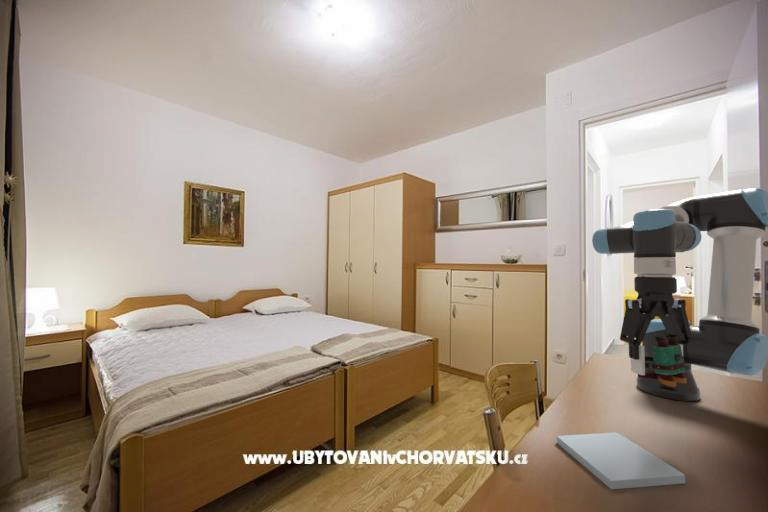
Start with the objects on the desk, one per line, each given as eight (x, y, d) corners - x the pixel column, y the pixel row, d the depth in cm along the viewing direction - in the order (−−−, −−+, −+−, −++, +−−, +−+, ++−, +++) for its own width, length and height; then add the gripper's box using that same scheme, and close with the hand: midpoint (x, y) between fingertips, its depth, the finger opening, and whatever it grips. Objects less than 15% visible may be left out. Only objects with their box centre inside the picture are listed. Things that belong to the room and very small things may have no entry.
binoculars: (639, 331, 80) (689, 334, 71) (644, 373, 79) (697, 383, 70) (618, 333, 76) (668, 338, 67) (623, 379, 75) (676, 389, 66)
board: (616, 438, 73) (616, 432, 73) (685, 483, 58) (685, 475, 58) (556, 442, 71) (556, 436, 71) (611, 489, 56) (611, 480, 56)
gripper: (627, 276, 68) (629, 380, 67) (713, 276, 71) (716, 375, 70) (599, 275, 76) (601, 369, 75) (678, 275, 79) (680, 365, 78)
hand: (657, 372), depth 73 cm, fingers closed on binoculars, 9 cm apart
